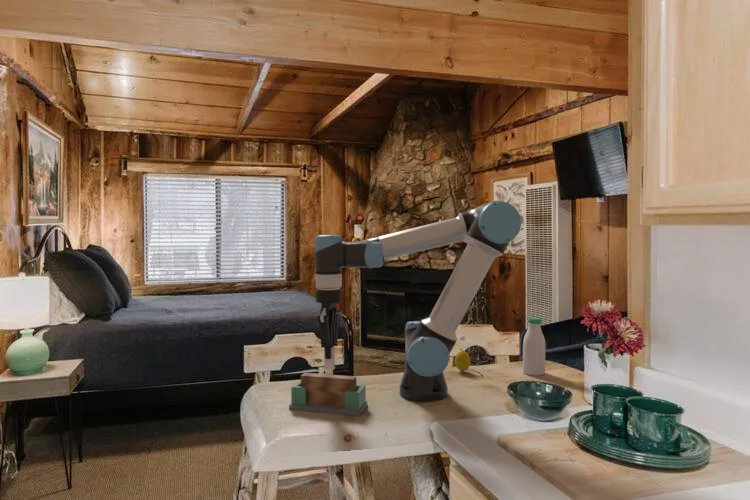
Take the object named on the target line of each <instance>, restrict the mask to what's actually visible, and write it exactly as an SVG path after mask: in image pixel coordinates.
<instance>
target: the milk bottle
mask: <svg viewBox="0 0 750 500" xmlns="http://www.w3.org/2000/svg"><path fill="white" fill-rule="evenodd" d="M527 324H528V326H527V331H526V332H525V334H524V336H523V343H522V344H523V345H522V372H523V374H525V375H528V376H533V377H536V376H537V377H539V376H543V375H545V373H546V339H545V336H544V334H543V331H542V327H541V326H542V318H540V317H532V316H531V317H528V319H527Z"/></svg>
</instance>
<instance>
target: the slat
mask: <svg viewBox="0 0 750 500" xmlns="http://www.w3.org/2000/svg"><path fill="white" fill-rule="evenodd" d="M300 380H301V387H306V397H307V403H313V404H324V405H335V406H345V391H346V390H349V391H356V385H357V376H356V375H354V376H353V375H340V374H330V373H329V374H326V373H316V372H315V373H313V372H303V373H302V374H301V375H300Z"/></svg>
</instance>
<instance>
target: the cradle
mask: <svg viewBox="0 0 750 500" xmlns="http://www.w3.org/2000/svg"><path fill="white" fill-rule="evenodd" d="M366 387H367V386H366V385H365V384H356V391H349V390H346V391H345V406H335V405H324V404H313V403H307V397H306V387H301V379H300V380H299V381H297V382H296V383H295V384H293V386H291V387H290V388H291V389H290V392H291V393H290V394H291V395H290V397H291V398H290V399H291V402H290V403H289V405H288V409H289V410H295V411H304V412H305V411H306V412H315V413H324V412H325V414H338V415H345V416H346V415H348V416H355V417H359V416H360V415H361V414H362V413H363V412H364V410H366V408H367V406H368V400H367V399H366V398H367V397H366V393H367V392H366V389H367V388H366Z"/></svg>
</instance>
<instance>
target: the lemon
mask: <svg viewBox="0 0 750 500" xmlns="http://www.w3.org/2000/svg"><path fill="white" fill-rule="evenodd" d="M454 364H455V367H456V369H457V370H459V371H460V372H461V373H464V372H465V371H467V370H468V369H469V368H470V366H471V356H470V355H469V353H468V352H467V351H465V350H464V349H463V350H461V351H458V352H457V353H456V355H455V359H454Z"/></svg>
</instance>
